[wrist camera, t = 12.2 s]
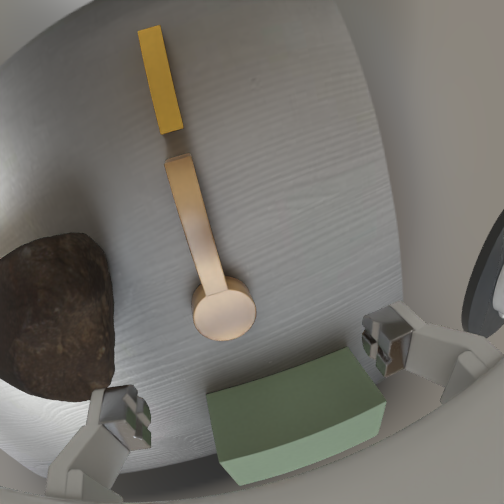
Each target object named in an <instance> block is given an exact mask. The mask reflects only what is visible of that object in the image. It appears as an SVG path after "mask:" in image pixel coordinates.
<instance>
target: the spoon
mask: <svg viewBox="0 0 504 504" xmlns="http://www.w3.org/2000/svg"><path fill="white" fill-rule="evenodd" d="M164 166H165V170H166V173H167V177H168V180H169V184H170V187H171V190H172V194H173V197H174V201H175V204H176V207H177V210H178V214H179V217H180V220H181V223H182V227H183V230H184V233H185V236H186V239H187V242H188V245H189V249H190V252H191V255H192V258H193V261H194V264H195V267H196V270H197V273H198V276H199V278H200V281H201V285H199V287H198V288H197V289H196V290H195V292H194V294H193V297H192V302H191V305H192V314H193V321H194V325H195V327H196V329H197V330H198V331H199V332H200V333H201V334H202V335H203V336H205V337H207V338H209V339H212V340H216V341H227V340H232V339H235V338H238V337H240V336H241V335H243V334H244V333H246V332H247V331H248V330H249V329H250V328H251V326H252V325H253V323H254V321H255V318H256V306H255V303H254V301H253V299H252V296H251V294H250V292H249V290H248V288H247V287H246V285H245V284H244V283H243V282H241V281H240V280H238V279H236V278H233V277H229V276H225V275H224V272H223V268H222V265H221V262H220V258H219V255H218V251H217V248H216V244H215V241H214V237H213V234H212V230H211V227H210V223H209V220H208V216H207V212H206V209H205V205H204V202H203V198H202V194H201V191H200V187H199V183H198V179H197V176H196V172H195V168H194V164H193V160H192V157H191V154H190V153H186V154H183V155H179V156H176V157H173V158H169V159H167V160H166V161H165V163H164Z"/></svg>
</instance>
